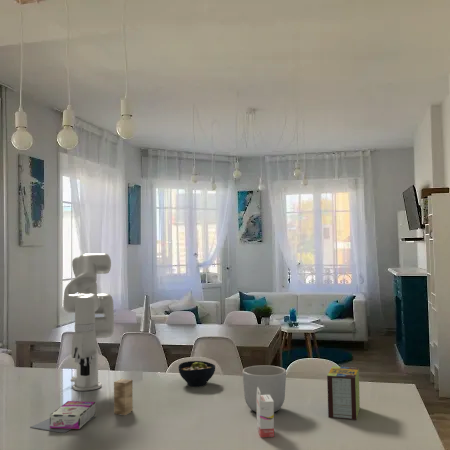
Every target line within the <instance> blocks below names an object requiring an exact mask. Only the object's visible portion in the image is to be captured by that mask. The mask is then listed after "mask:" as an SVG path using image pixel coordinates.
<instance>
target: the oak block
mask: <svg viewBox="0 0 450 450" xmlns="http://www.w3.org/2000/svg"><path fill="white" fill-rule="evenodd" d="M131 411H132V412H133V380H132V379H127V378H126V379H125V378H121V379H118V380H116V381H113V413H114V415H120V414H121V416H127V415H128V414H131V413H132V412H131Z"/></svg>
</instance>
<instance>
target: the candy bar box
mask: <svg viewBox="0 0 450 450" xmlns="http://www.w3.org/2000/svg"><path fill="white" fill-rule="evenodd" d="M95 415H96V402H95V401H80V400H79V401H77V400H67V401H66V402H65V403H63V404H62V405H61V406H59V407H58V408H57V409H55V411H53V412H52V413H50V414H49V418H50V428H61V429H71V430H81V428H82V427H83V426H84V425H85V424H86V423H87V422H89V421H90V420H89V419H90V418H91V417H95ZM88 420H89V421H88Z"/></svg>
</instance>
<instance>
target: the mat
mask: <svg viewBox="0 0 450 450" xmlns="http://www.w3.org/2000/svg"><path fill="white" fill-rule="evenodd" d="M93 419H96V416H93V417H91V418H90V419H89V420H88V421H87V422H89V421H91V420H93ZM29 428H30V429H37V430H43V431H49V432H54V433H60V434H61V433H62V434H65V433H67V432H69V431H71V430H72V429H61V428H50V417H49V418H47V419H44V420H42V421H40V422H38V423H36V424H33V425H32V426H30V427H29Z"/></svg>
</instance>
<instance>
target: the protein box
mask: <svg viewBox="0 0 450 450" xmlns="http://www.w3.org/2000/svg"><path fill="white" fill-rule="evenodd" d="M359 376H360V368H359V367H354V366H353V367H352V366H351V367H349V366H338V365H337V366H335V365H333V366H331V368H330V369H329V370H328V373H327V374H326V379H327V413H328V414H327V415H328V418H330V419H331V418H332V419H342V420H343V419H345V420H354V421H355V420H356V421H357V420H358V416H359V411H360V408H361V406H360V403H361V402H360V400H361V399H360V377H359Z"/></svg>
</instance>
